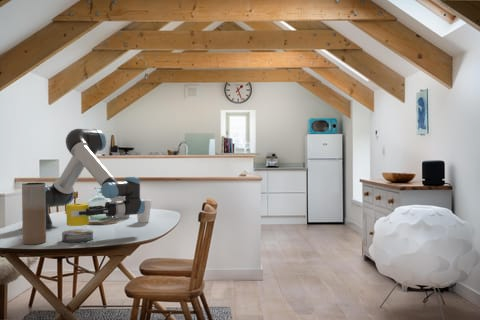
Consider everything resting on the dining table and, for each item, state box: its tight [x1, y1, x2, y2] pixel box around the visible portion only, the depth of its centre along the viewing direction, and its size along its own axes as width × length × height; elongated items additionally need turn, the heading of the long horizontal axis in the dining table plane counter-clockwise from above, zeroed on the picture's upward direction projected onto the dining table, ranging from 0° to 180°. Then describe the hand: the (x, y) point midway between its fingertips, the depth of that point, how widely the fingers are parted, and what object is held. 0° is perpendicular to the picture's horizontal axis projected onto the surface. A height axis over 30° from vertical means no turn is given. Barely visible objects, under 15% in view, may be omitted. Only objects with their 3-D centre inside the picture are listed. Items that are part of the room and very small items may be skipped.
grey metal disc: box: [61, 228, 94, 244], centre depth 218 cm, size 14×14×4 cm
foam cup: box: [136, 198, 152, 224], centre depth 271 cm, size 10×9×13 cm
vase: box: [21, 182, 47, 246], centre depth 212 cm, size 10×10×28 cm
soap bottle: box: [110, 196, 131, 219], centre depth 288 cm, size 16×5×20 cm, turn 89°
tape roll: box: [65, 202, 90, 227], centre depth 218 cm, size 10×10×9 cm
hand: (68, 212), depth 215 cm, fingers closed on tape roll, 10 cm apart
